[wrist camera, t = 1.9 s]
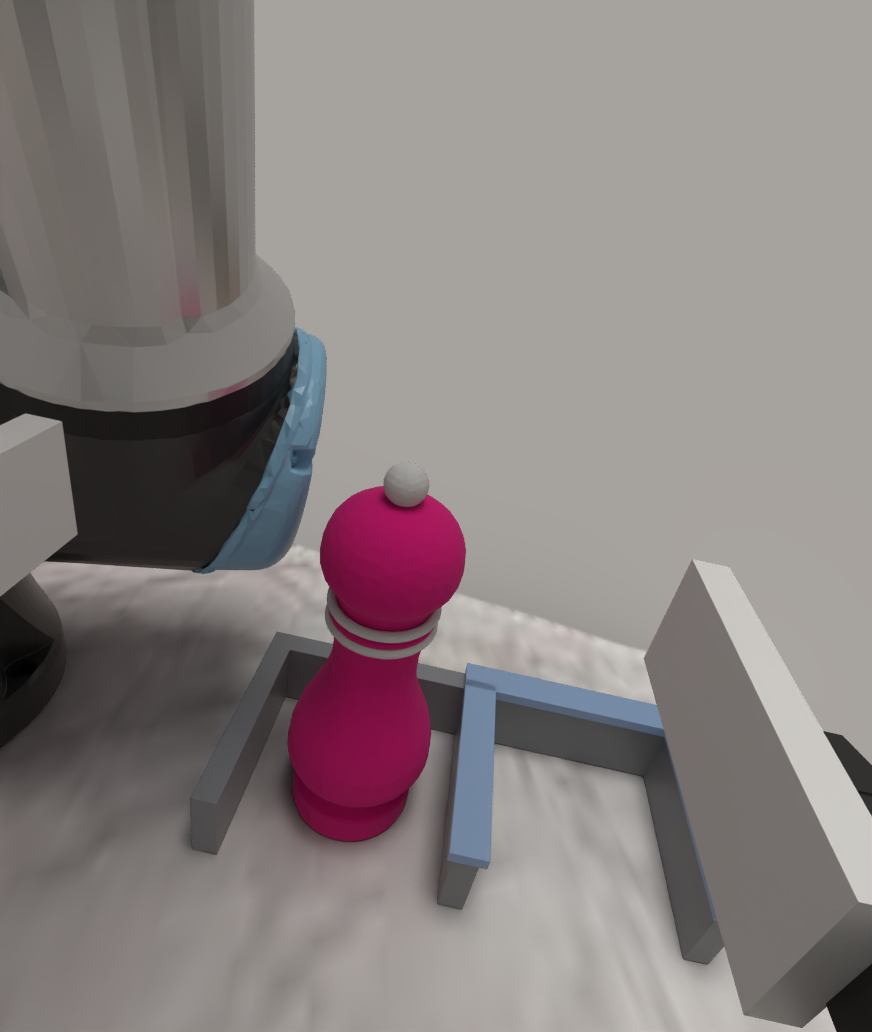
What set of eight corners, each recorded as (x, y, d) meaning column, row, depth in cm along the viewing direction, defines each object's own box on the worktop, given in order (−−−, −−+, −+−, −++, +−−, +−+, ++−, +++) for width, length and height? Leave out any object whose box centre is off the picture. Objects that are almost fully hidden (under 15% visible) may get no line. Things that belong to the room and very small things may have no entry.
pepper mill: (284, 734, 35) (312, 416, 25) (405, 730, 37) (477, 433, 26) (280, 858, 29) (314, 508, 19) (425, 847, 31) (527, 521, 20)
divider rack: (190, 852, 28) (187, 794, 26) (275, 674, 38) (279, 621, 36) (715, 970, 28) (759, 922, 26) (661, 761, 38) (690, 712, 36)
